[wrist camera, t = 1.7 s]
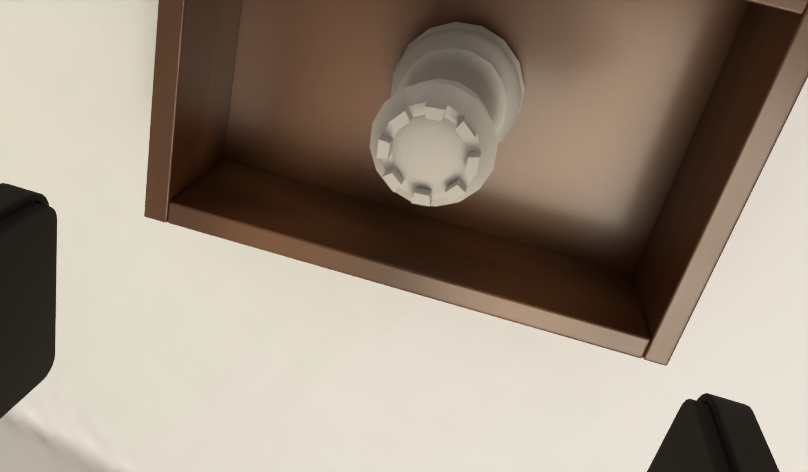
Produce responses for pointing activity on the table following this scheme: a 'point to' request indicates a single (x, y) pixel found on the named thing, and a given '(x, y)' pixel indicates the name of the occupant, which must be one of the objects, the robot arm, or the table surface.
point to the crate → (515, 159)
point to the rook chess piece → (446, 114)
